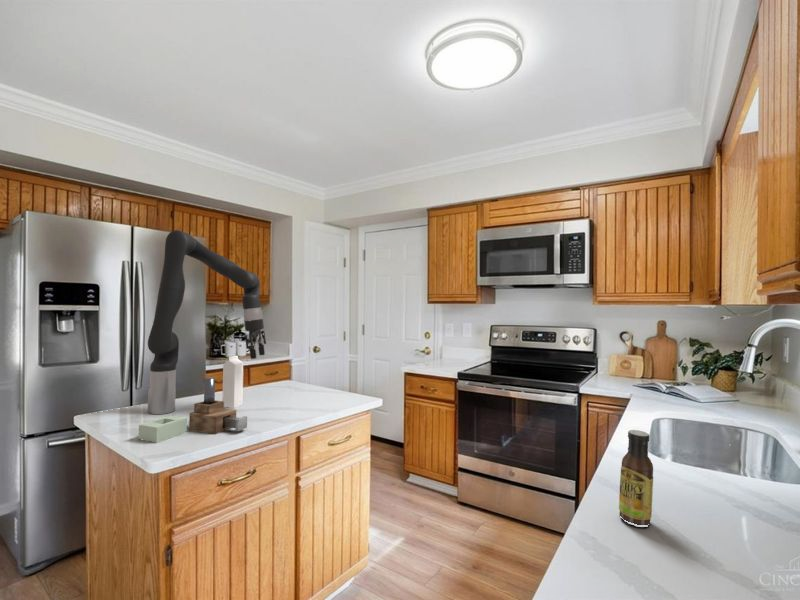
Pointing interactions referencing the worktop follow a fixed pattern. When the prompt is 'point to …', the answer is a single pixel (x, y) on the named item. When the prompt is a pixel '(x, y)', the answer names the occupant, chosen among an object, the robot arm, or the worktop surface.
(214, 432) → the socket block
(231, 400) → the milk
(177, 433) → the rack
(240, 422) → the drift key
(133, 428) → the worktop surface
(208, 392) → the grey peg
